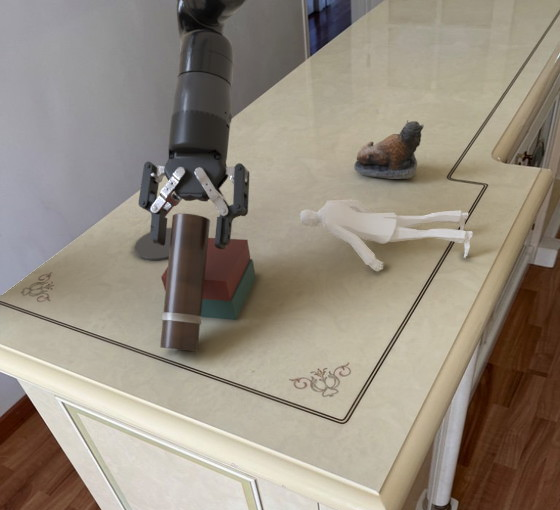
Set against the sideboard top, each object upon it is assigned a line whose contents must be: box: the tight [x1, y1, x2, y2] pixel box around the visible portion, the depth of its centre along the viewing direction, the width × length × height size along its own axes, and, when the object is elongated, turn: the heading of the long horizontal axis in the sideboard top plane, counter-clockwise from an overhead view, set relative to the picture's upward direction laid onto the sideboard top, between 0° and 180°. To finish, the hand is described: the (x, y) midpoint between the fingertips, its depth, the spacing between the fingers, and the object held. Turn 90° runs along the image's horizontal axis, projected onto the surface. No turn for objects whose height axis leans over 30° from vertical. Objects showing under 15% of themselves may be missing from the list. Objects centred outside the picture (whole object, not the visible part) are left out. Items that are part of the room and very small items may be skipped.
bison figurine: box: [353, 120, 425, 180], centre depth 103 cm, size 12×7×10 cm, turn 63°
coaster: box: [134, 227, 172, 262], centre depth 97 cm, size 9×9×1 cm
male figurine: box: [299, 199, 473, 272], centre depth 88 cm, size 14×6×25 cm
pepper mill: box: [159, 213, 211, 352], centre depth 76 cm, size 15×5×15 cm, turn 166°
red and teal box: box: [160, 237, 256, 321], centre depth 84 cm, size 10×10×7 cm
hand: (189, 246), depth 76 cm, fingers open, 8 cm apart
